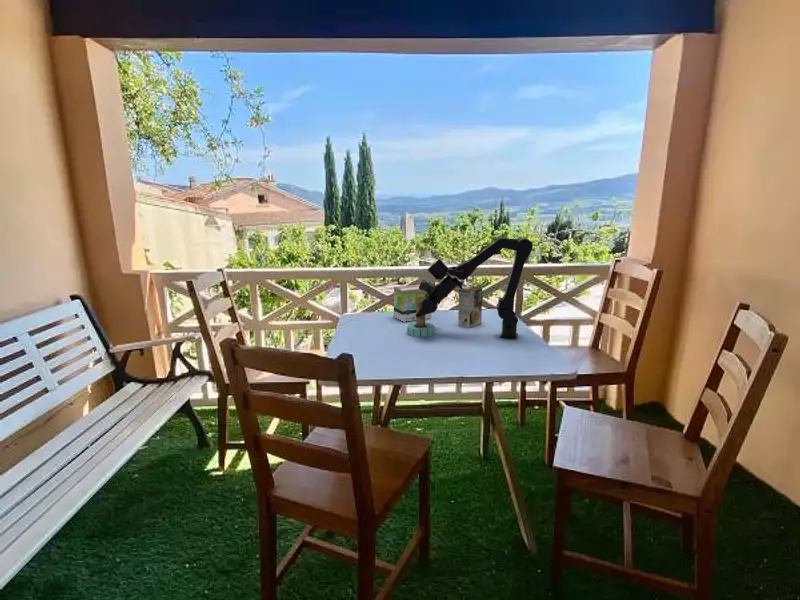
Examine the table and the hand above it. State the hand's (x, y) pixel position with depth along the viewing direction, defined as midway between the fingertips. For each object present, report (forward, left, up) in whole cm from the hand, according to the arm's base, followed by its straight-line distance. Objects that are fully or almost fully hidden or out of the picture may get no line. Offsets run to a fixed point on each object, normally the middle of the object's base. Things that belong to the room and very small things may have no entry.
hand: (417, 313), depth 187 cm
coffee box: (-18, +18, -8) cm, 27 cm away
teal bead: (0, +1, -8) cm, 8 cm away
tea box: (-21, -9, -8) cm, 24 cm away
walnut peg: (0, +1, -8) cm, 8 cm away
